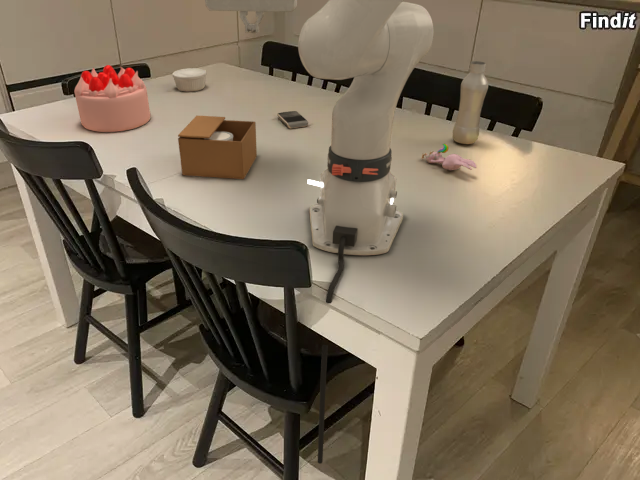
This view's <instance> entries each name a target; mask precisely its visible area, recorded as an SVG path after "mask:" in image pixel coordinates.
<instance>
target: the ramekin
mask: <svg viewBox="0 0 640 480" xmlns="http://www.w3.org/2000/svg"><path fill="white" fill-rule="evenodd" d="M172 78H173V80H174V83H175V87H176V89H177V90H179V91H180V92H188V93H190V92H197V91H201V90H203V89H204V88H205V87H206V81H207V80H206V79H207V71H206V69H203V68H198V67H188V68H187V67H186V68H181V69H177V70H175V71H173V72H172Z"/></svg>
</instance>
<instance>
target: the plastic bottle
mask: <svg viewBox="0 0 640 480" xmlns="http://www.w3.org/2000/svg"><path fill="white" fill-rule="evenodd" d="M486 67H487V62H485V61H479V60H473V61H471V62H470V63H469V68H468V74H467V75H466V76H465V77H464V78H463V79H462V81H461V84H460V92H459V94H460V96H459V107H458V112H457V116H456V119H455V123H454V125H453V128H452V139H453V141H454V142H456V143H459V144H462V145H471V144H474V143H475V142H476V141H477V140H478V138H479V136H480V122H481V113H482V108H483V105H484V101H485V98H486V95H487V93H488V89H489V81H488V79H487V77H486V75H485V72H486V69H487V68H486Z"/></svg>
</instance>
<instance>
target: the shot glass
mask: <svg viewBox="0 0 640 480" xmlns="http://www.w3.org/2000/svg"><path fill="white" fill-rule="evenodd" d="M204 139H205V140H222V141H233V134H231V133H229V132H224V131H217V132H214V133H213V134H212V136H211V137H210V138H204Z"/></svg>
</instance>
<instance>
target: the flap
mask: <svg viewBox="0 0 640 480" xmlns="http://www.w3.org/2000/svg"><path fill="white" fill-rule="evenodd" d="M224 120H226V117H225V116H217V115H215V116H214V115H195V116H194V118H192V120H191V121H190V122H189V123H187V125H186V126H185V127H184V128H183V129H182V130H181V131H180V132H179V133H178V135H177V137H178V138H179V137H192V138H210V137H211V136H212V134H213V133H214V132H215V131H216V129H217V128H218V127H219V126H220V124H221V123H222V122H223V121H224Z"/></svg>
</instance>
